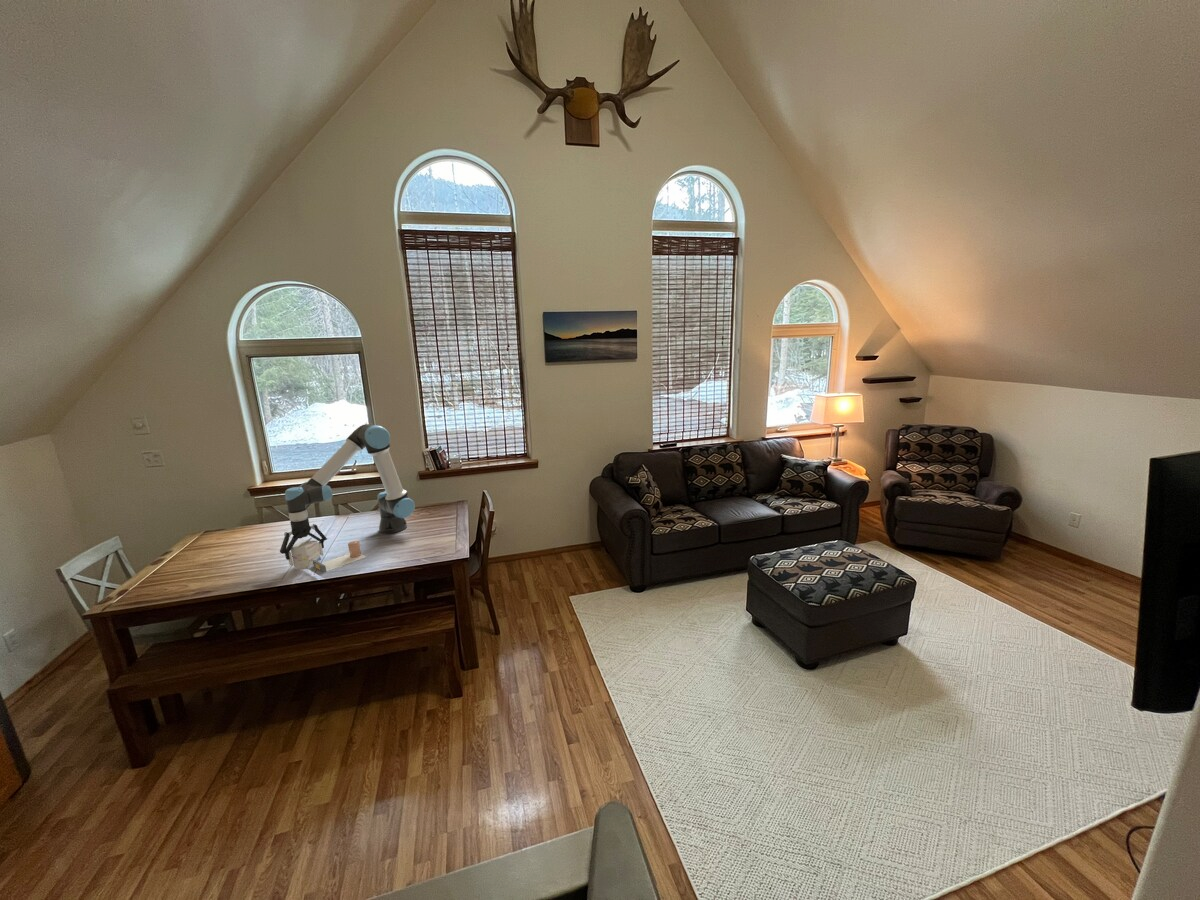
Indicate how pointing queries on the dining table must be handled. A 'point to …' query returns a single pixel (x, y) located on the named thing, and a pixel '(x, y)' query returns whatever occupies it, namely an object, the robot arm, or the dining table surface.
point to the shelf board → (335, 562)
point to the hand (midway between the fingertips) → (306, 559)
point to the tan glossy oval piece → (354, 549)
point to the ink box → (305, 554)
